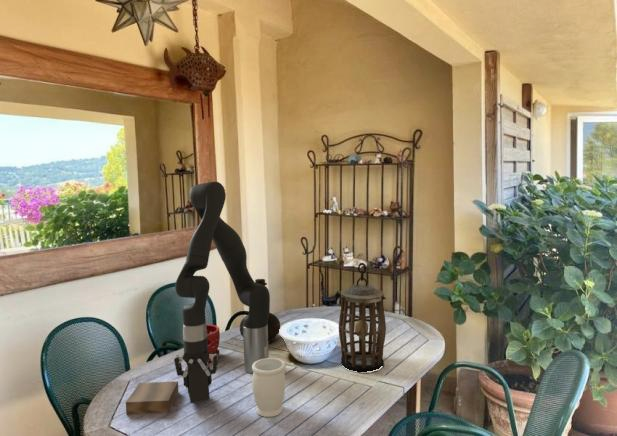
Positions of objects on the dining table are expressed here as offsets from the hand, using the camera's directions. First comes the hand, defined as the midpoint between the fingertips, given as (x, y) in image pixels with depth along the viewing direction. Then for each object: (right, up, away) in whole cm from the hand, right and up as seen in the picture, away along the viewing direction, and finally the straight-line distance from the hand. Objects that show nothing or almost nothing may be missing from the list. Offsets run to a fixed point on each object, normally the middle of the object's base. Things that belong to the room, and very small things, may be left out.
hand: (197, 385), depth 146 cm
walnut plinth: (-15, -6, 0) cm, 16 cm away
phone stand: (0, -3, 0) cm, 3 cm away
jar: (+24, -6, -5) cm, 25 cm away
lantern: (+57, -2, +28) cm, 64 cm away
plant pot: (-6, -2, +36) cm, 37 cm away
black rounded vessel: (+15, 0, +54) cm, 56 cm away
